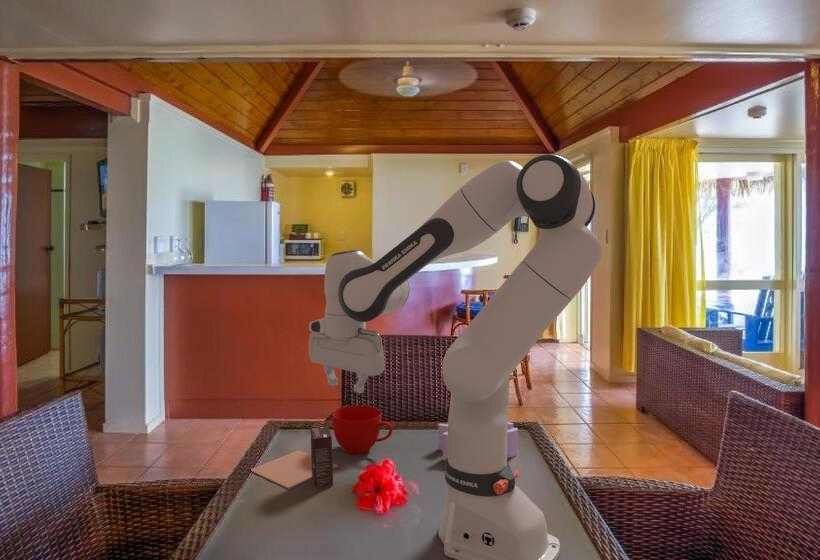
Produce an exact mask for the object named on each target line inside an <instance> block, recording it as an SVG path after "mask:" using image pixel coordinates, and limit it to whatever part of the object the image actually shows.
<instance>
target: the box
mask: <svg viewBox="0 0 820 560" xmlns="http://www.w3.org/2000/svg"><path fill="white" fill-rule="evenodd" d="M310 449H311V450H310V452H311V453H310V455H311V463H312V477H313V479H312V480H313V484H314V485H313V486H314V488H315V489H318V488H319V489H320V488H321V489H322V488H326V487H327V488H328V487H332V486H334V469H333V464H334V463H333V437H332V433H331V429H330V428H329V426H328V425H326V426H318V427H316V426H315V427H311V428H310Z"/></svg>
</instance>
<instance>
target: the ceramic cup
mask: <svg viewBox="0 0 820 560" xmlns="http://www.w3.org/2000/svg"><path fill="white" fill-rule="evenodd" d="M331 414H332V415H331V418H332V422H331V423H332V427H333V430H332V431H333V432H334V433H333V434H334V438H335V440H336V442H337V443H338V445H339V446H340V447H341V449H343V450H344V452H345V453H347V454H349V455H363V454H366V453H368V452H370V450H371V449H372V448H373V446H374V445H375V444H376V443H378V442H383V441H385V440H388V439H389V438H390V437H391V436H392V434H393V432H394V431H393V429H394V428H393V426H392V424H391V423H390V422H389V421H385V420H384V421H382V411H381V410H380V409H379V408H378V407H375V406H371V405H361V404H360V405H359V404H358V405H347V406H343V407H339V408H337V409H335V410H334V411H333V412H332V413H331ZM383 425H384V426H387V427H388V430H389V431H388V434H387V435H385V436H383V437H379V435H380V433H381V427H382V426H383Z"/></svg>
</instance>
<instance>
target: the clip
mask: <svg viewBox="0 0 820 560" xmlns="http://www.w3.org/2000/svg"><path fill="white" fill-rule="evenodd" d="M437 435H438V436H437V437H438V439H437V440H438V443H437V445H438V447H437V449H438V451H442V460H443V461H445V462H446V458H447V457H448V422H447V423H438V434H437ZM518 441H519V429H518V427H514V422H511V421H508V423H507V459H510V458H514V457H516V456H517V455H518V454H519V453H518V450H519V449H518V448H519V447H518V446H519V443H518Z"/></svg>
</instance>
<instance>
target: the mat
mask: <svg viewBox="0 0 820 560" xmlns="http://www.w3.org/2000/svg"><path fill="white" fill-rule="evenodd" d="M337 468H339V465H337V464H335V463H333V470H335V469H337ZM250 469H251V471H252V472H251V471H250V472H251V473H254V474H255V475H258V476H260V477H261V478H264V479H266V480H268V481H271V482H273V483H274V484H277V485H279V486H281V487H283V488H285V489H288V490H291V489H292V488H295V487H297V486H299V485H301V484H304V483H306V482H308V481H311V480H313V477H312V463H311V453H307V452H304V451H301V450H296V451H293V452H291V453H288V454H286V455H283V456H280V457H279V458H275V459H273V460H270V461H267V462H265V463H262V464H260V465H258V466H256V467H255V466H254V467H253V468H250Z"/></svg>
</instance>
